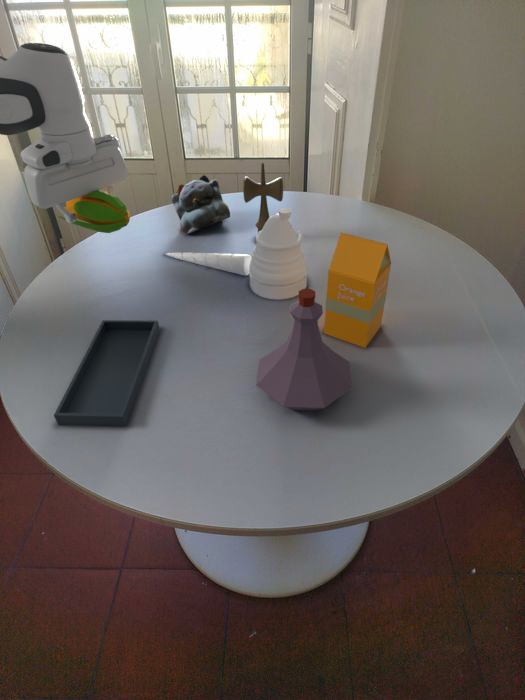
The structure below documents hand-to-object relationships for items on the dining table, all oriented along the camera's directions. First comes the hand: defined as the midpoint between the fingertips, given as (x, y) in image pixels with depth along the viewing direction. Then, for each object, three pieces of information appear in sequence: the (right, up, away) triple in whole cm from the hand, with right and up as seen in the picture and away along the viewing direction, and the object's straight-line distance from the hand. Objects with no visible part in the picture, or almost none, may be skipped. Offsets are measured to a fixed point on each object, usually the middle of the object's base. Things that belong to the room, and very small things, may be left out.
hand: (89, 214), depth 97 cm
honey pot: (+39, -13, +9) cm, 43 cm away
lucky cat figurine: (+19, +6, +33) cm, 39 cm away
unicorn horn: (+23, -8, +16) cm, 29 cm away
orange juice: (+54, -25, -5) cm, 59 cm away
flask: (+43, -35, -17) cm, 58 cm away
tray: (+9, -32, -12) cm, 36 cm away
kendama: (+37, 0, +25) cm, 44 cm away
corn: (0, -2, +2) cm, 3 cm away
